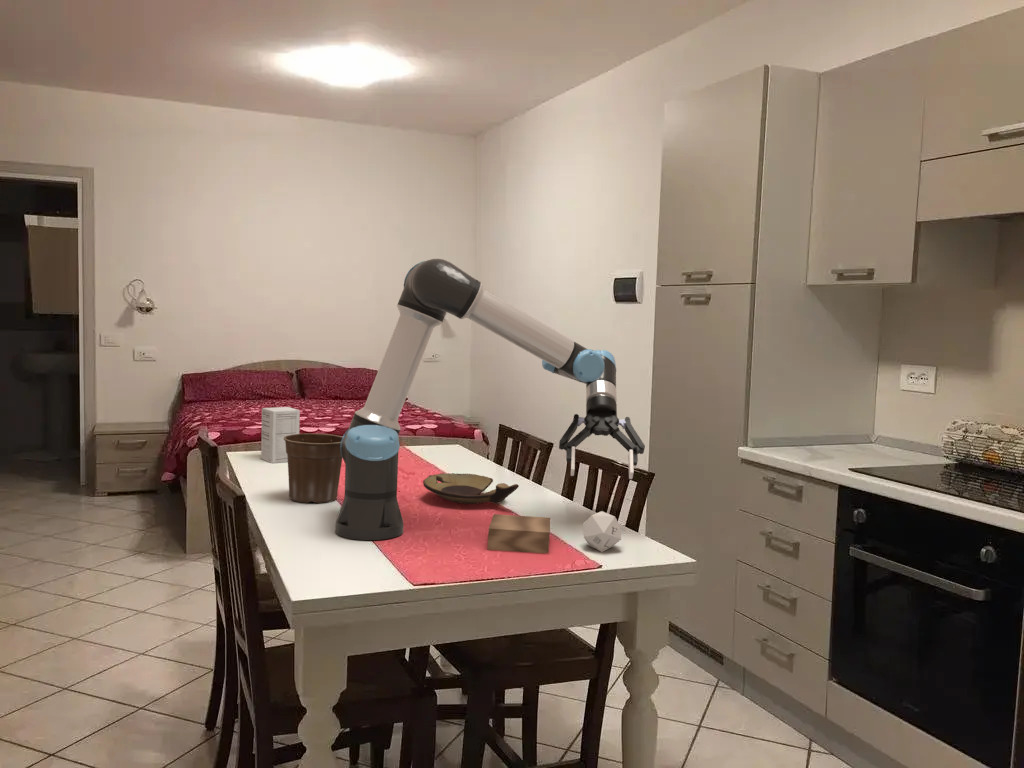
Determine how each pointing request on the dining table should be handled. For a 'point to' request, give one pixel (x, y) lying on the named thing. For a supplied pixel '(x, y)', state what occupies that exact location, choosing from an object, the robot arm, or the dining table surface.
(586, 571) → the dining table surface
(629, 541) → the dining table surface
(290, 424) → the supplement box
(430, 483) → the oil lamp
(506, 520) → the walnut block
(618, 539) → the die
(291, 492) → the plant pot
